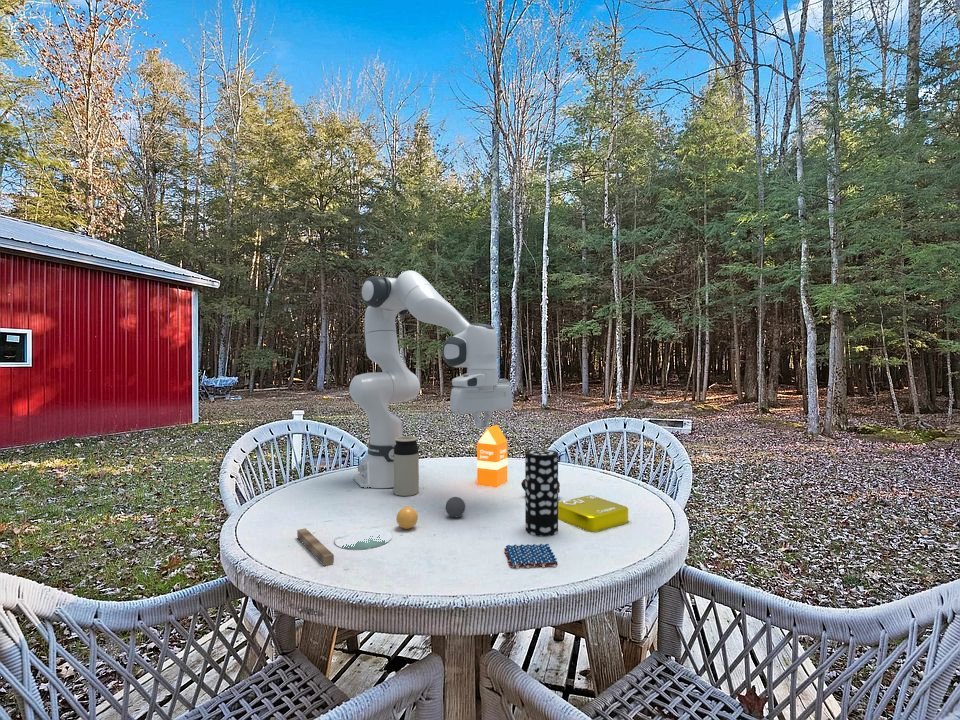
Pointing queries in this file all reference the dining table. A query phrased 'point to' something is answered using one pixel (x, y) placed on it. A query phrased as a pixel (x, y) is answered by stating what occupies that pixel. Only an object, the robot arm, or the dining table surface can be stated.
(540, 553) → the woven mat
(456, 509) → the dark grey round ball
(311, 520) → the dining table surface
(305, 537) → the brown wooden bar
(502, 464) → the orange juice
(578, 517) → the element tile
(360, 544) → the teal flat disc
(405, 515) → the orange ball
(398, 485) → the travel mug
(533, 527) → the spotted tube
